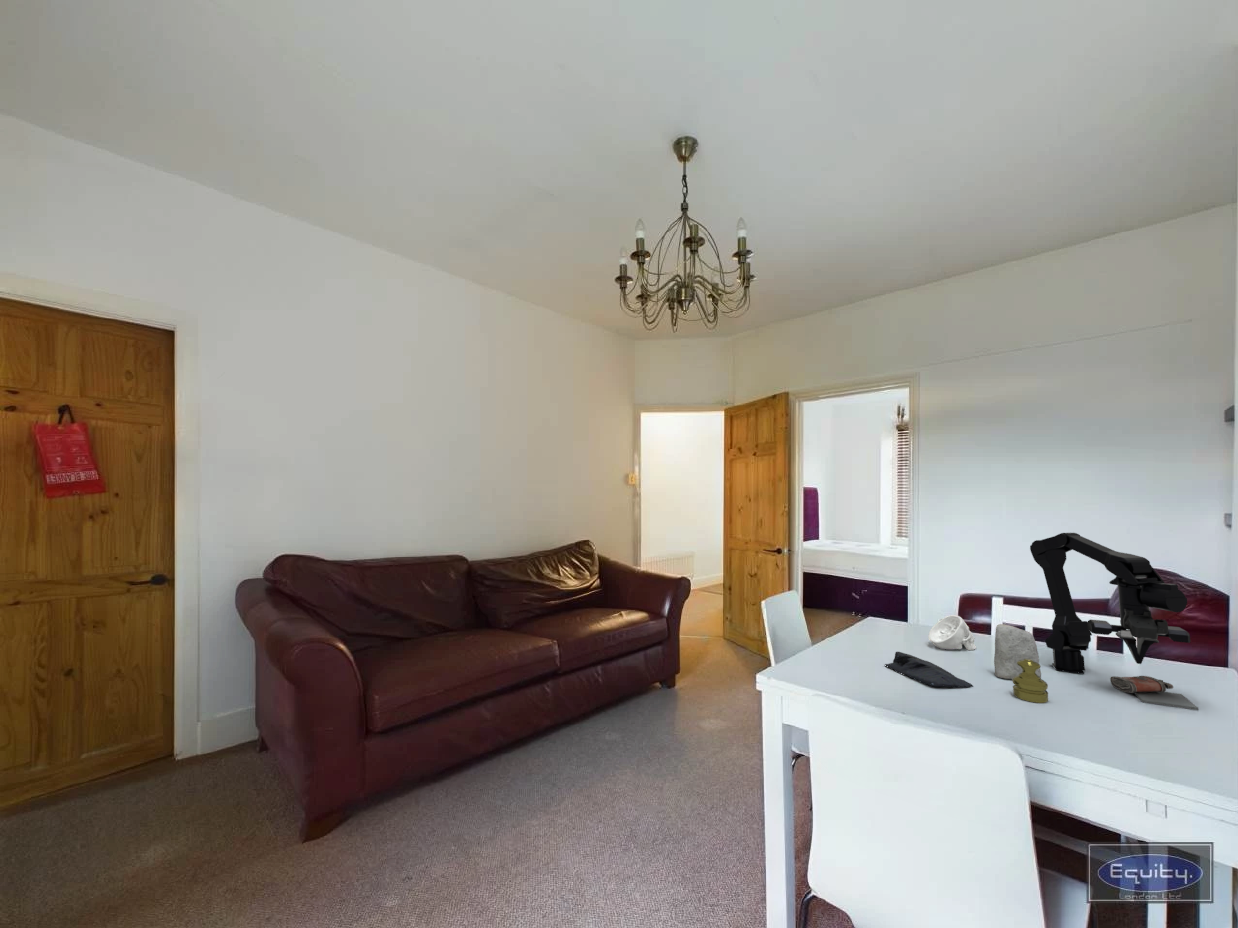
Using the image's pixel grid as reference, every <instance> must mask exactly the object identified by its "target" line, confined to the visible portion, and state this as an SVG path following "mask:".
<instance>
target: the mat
mask: <svg viewBox="0 0 1238 928" xmlns="http://www.w3.org/2000/svg"><path fill="white" fill-rule="evenodd" d="M1133 694H1134V695H1135V696H1136V697H1137V698H1138V699H1139V700H1140V702H1142V703H1145V704H1153V705H1158V706H1166V707H1174V708H1179V709H1180V708H1181V709H1187V710H1193V711H1194V710H1195V711H1199V707H1198V706H1197V705H1196V704H1195V703H1193V702H1192V701H1191V700H1189V699H1188V698H1187V697H1186V696H1185V695H1184V694H1182V693H1176V692H1170V691H1165V692H1156V691H1145V692H1135V693H1133Z"/></svg>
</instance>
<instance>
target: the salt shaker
mask: <svg viewBox="0 0 1238 928" xmlns="http://www.w3.org/2000/svg"><path fill="white" fill-rule="evenodd" d="M1017 664H1018V665H1019V666H1020V667H1021V668H1022V670H1023V671H1022V672H1021V673H1020V674H1018V675H1017V676H1014V677H1013V678H1012V679H1011V681H1012V684H1013V685H1012V691H1013V692H1012V693H1013V695H1014V697H1016V698H1018V699H1019V700H1023V701H1026V702H1029V703H1037V704H1038V703H1039V704H1041V703H1043V704H1044V703H1048V702H1049V692H1048V691H1047V690H1048V685H1049V684H1048V683H1047V682H1046V681H1045V680H1044V679H1042V677H1041V678H1040V677H1039V676H1038V675H1037V674H1036V673H1035V672H1036V670H1037V669H1039V668H1040V669H1041V664H1040V663H1039V664H1038V663H1037V662H1034V661H1033V660H1031V659H1024V660H1019V661H1017Z"/></svg>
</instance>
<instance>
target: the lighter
mask: <svg viewBox="0 0 1238 928" xmlns="http://www.w3.org/2000/svg"><path fill="white" fill-rule="evenodd" d="M1109 681H1110V684H1111V685H1112V687H1113V688H1116V689H1117V690H1118V691H1121V692H1123V693H1124V692H1125V693H1130V694H1134V693H1135V692H1145V691H1156V692H1167V689H1168V690H1172V689H1174V685H1173V684H1171V683H1169V682H1165V681H1164V680H1162V679H1157V678H1155V677H1152V676H1150V675H1149V676H1148V675H1137V676H1122V677H1121V676H1110V678H1109Z"/></svg>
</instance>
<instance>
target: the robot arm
mask: <svg viewBox="0 0 1238 928" xmlns="http://www.w3.org/2000/svg"><path fill="white" fill-rule="evenodd" d="M1029 551H1030V553H1031V555H1032V558H1033V560H1034V561H1035V563H1036V564H1037V565H1038V566H1039V567H1040V568H1041V569H1042V571H1043V574H1044V578H1045V582H1046V584H1047V589H1048V592H1049V597H1050V601H1051V604H1052V607H1053V608H1052V609H1053V611H1054V615H1055V616H1054V619H1053V621H1052V625H1051V630H1052V634H1050V635H1049V636H1048V637H1046V639H1044V642H1045V645H1046V647H1047V648H1049V649H1052V658H1053V659H1052V660H1053V662H1052V666H1053V668H1054V669H1055V670H1056V671H1057V672H1067V673H1073V674H1082V675H1084V674H1085V671H1086V669H1085V666H1086V665H1085V657H1084V656H1083V655H1082V651H1085V652H1086V651H1087V649H1088V647H1089V643H1091V642H1092V637H1091V636H1093V635H1101V636H1103V635H1104V636H1109V635H1110V634H1112V633H1115V635H1116V637H1118V638H1119V639H1120V640H1122V641H1123V642H1124V643H1125V645H1126V647H1127V648H1128V650H1129V651H1130V653H1131V654H1130V655H1132V658H1133V659H1134V662H1135V663H1136V664H1137V665H1138V664H1139V665H1142V663H1143V662H1144V658H1145V656H1146V653H1147V652H1148V650H1149V648H1150V647H1151V646H1152V645H1153V644H1155V643H1156V644H1158V643H1160V641H1159V640H1158V639H1159V638H1158V637H1165V638H1166V637H1167V638H1169V639H1170V640H1172V641H1173V642H1175V643H1188V644H1189V643H1191V636H1190V633H1189V632H1188V631H1187V630H1185V629H1184V628H1181V627H1180V626H1169V624H1168V621H1167V620H1166V619H1159V618H1158V619H1157V618H1156V619H1154V618H1153V617H1152V611H1151V610H1150V608H1153V609H1157V610H1163V611H1167V612H1172V613H1181V612H1184V610H1185V609H1186V608H1187V604H1188V598H1187V597H1186V595H1185V594H1184V592H1183V591H1182V590H1180V589H1179V586H1178V584H1176V583H1175V584H1174V583H1165V581H1164V580H1163V578H1162V576H1160V575H1159V574H1158V572H1157V571H1156V570H1155V569H1154V567H1153V566H1152V565H1151V562H1150V560H1149V559H1147V558H1145V557H1143V556H1139V555H1136V554H1132V553H1127V552H1122V551H1121V552H1120V551H1115V550H1114V549H1112V548H1109V547H1107V546H1104V545H1102V544H1100V543H1097V542H1095V541H1093V540H1090V539H1089V538H1086V537H1084V536H1081V535H1080V534H1079V533H1077V532H1061V533H1058V534H1056V535H1054V536H1051V537H1047V538H1044V539H1038V540H1037V539H1036V540H1034V541H1033V542H1031V544H1030V547H1029ZM1071 551H1075V552H1077V553H1079V554H1081V555H1084V556H1085V557H1088V559H1092V560H1094V561H1097V562H1098V563H1100V564H1101V565H1103V567H1104V568H1105V569H1106V570H1107V571H1108V572H1109V573H1111V574H1112V575H1114V576H1115V578H1113V579H1112V580H1110V581H1109V584H1110V585H1114V586H1117V587H1118V589H1117V590H1118V601H1119V603H1118V604H1119V605H1118V607H1119V616H1120V620H1119V622H1120V623H1119V624H1111V623H1109V622H1108V621H1107V620H1100V619H1088V621H1086V620H1085V621H1084V620H1082V619H1081V618H1080V617H1079V616H1078V614H1077V613H1076V608H1075V605H1074V602H1073V597H1072V595H1071V591H1070V588H1069V584H1068V580H1067V576H1066V574H1065V570H1064V566H1065V564H1066V561H1067V553H1068V552H1071Z"/></svg>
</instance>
